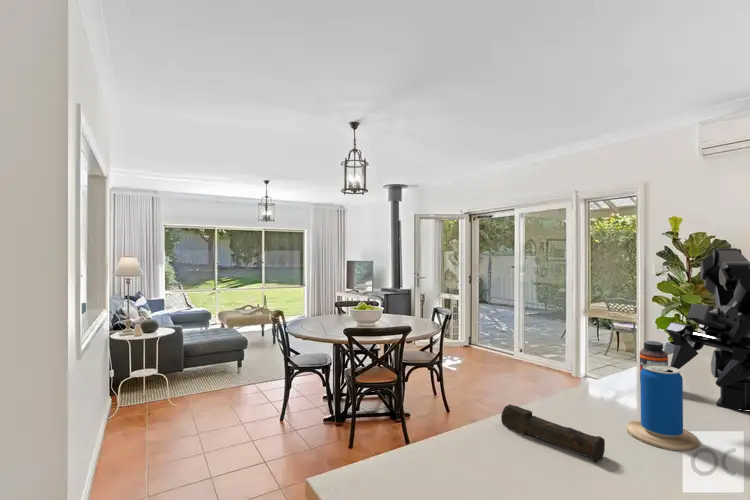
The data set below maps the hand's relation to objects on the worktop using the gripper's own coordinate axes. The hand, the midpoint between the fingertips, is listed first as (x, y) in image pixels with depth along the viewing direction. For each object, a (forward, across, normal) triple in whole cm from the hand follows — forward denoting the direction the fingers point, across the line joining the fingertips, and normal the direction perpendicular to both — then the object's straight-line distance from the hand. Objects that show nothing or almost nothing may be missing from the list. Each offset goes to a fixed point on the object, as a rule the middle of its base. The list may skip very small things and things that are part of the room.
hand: (693, 377), depth 77 cm
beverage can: (+12, 0, +2) cm, 13 cm away
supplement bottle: (-2, -23, +17) cm, 28 cm away
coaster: (+13, 0, +2) cm, 13 cm away
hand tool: (+29, -2, -14) cm, 32 cm away
